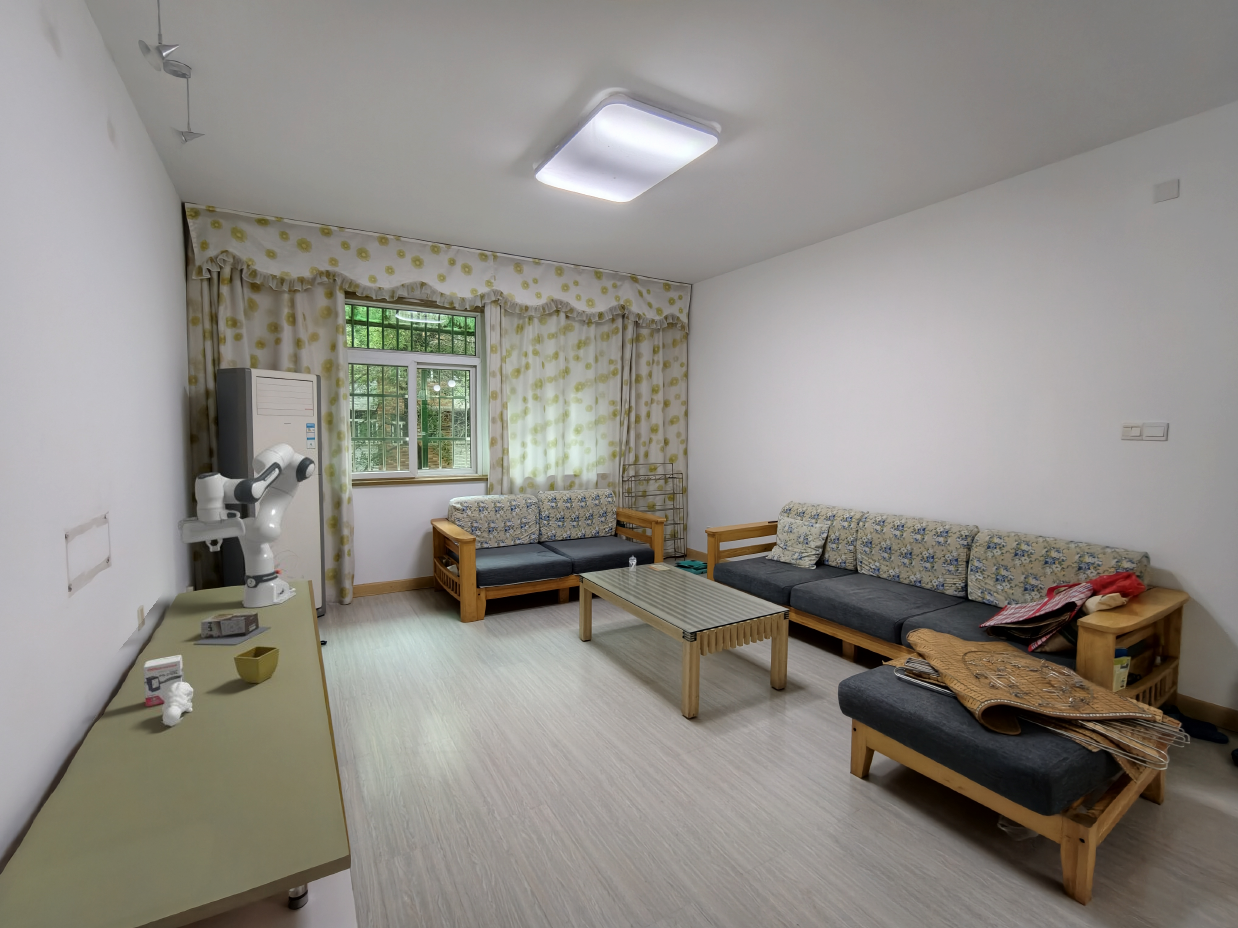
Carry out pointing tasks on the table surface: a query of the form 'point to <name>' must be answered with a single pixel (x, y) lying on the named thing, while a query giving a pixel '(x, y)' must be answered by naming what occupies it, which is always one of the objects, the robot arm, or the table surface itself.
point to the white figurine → (176, 702)
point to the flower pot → (257, 663)
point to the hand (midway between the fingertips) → (215, 550)
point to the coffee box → (229, 625)
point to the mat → (230, 638)
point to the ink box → (161, 677)
